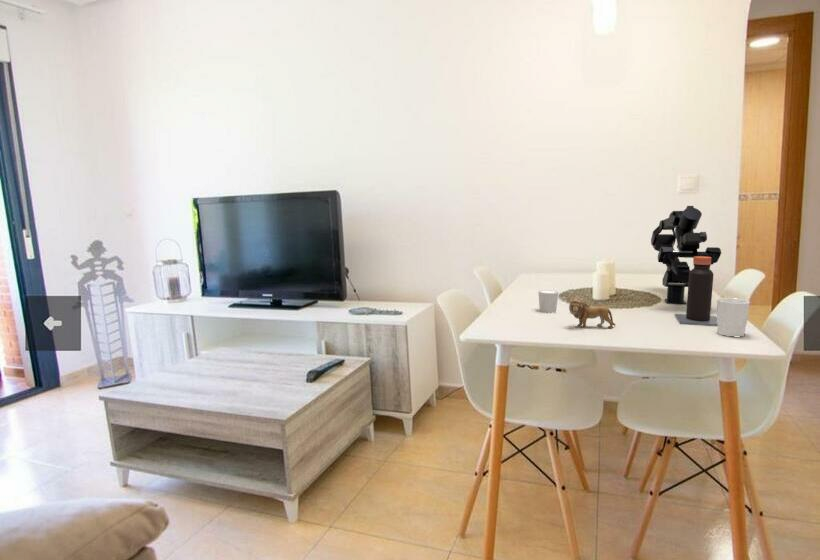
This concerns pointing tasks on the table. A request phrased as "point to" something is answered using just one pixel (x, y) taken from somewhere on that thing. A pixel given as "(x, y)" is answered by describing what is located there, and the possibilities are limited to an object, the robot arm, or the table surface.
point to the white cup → (732, 316)
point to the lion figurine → (590, 313)
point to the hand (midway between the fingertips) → (692, 274)
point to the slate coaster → (684, 320)
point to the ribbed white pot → (548, 301)
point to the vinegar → (700, 290)
